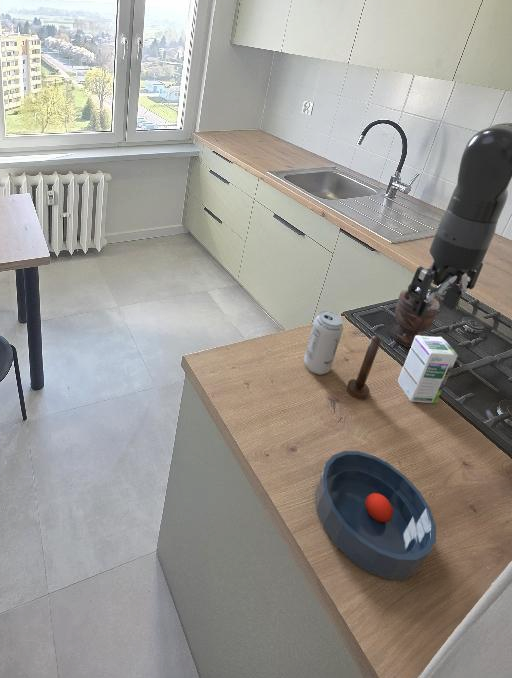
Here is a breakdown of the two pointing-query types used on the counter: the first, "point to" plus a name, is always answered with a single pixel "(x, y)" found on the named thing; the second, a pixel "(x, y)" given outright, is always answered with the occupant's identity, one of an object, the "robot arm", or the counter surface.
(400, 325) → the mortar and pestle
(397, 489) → the bowl
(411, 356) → the syrup box
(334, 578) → the counter surface
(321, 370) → the energy drink can
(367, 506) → the ball
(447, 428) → the counter surface
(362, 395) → the brown wooden pestle
